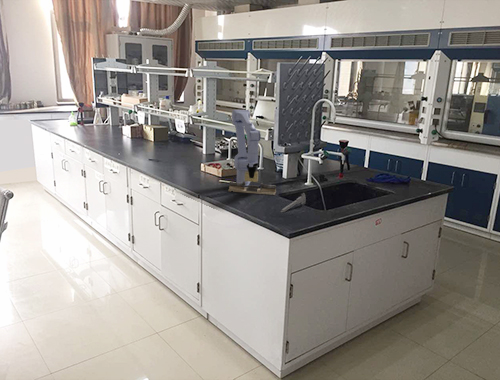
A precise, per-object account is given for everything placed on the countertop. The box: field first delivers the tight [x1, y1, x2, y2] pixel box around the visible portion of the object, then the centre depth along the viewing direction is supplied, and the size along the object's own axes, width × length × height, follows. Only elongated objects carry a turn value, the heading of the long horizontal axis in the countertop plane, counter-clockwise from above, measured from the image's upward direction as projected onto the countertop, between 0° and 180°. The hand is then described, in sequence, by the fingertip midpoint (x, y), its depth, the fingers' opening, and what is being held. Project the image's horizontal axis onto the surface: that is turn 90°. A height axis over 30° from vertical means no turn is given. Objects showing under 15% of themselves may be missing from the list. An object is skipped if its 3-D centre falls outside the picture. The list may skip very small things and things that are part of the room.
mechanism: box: [227, 181, 277, 196], centre depth 231 cm, size 7×26×5 cm, turn 81°
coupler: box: [245, 170, 259, 183], centre depth 229 cm, size 4×7×5 cm, turn 84°
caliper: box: [280, 192, 307, 213], centre depth 205 cm, size 20×1×6 cm, turn 140°
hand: (251, 177), depth 229 cm, fingers closed on coupler, 4 cm apart
